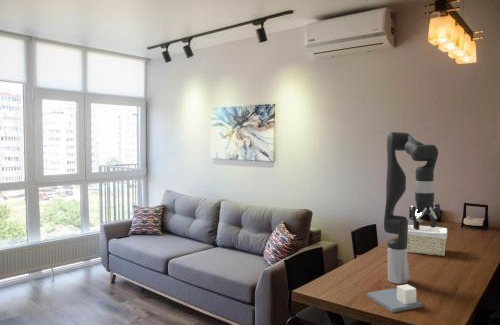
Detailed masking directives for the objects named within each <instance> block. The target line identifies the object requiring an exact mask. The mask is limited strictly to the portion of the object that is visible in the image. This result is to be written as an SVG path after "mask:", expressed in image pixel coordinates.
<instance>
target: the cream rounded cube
mask: <svg viewBox="0 0 500 325" xmlns="http://www.w3.org/2000/svg"><path fill="white" fill-rule="evenodd" d="M396 289H397V300H399V301H401V302H402V303H404V304H410V303H416V300H417V288H416V287H414V286H412V285H410V284H408V283H405V284H399V285H396Z"/></svg>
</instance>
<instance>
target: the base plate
mask: <svg viewBox="0 0 500 325" xmlns="http://www.w3.org/2000/svg"><path fill="white" fill-rule="evenodd" d="M366 297H367V298H369V299H371V300H372V301H374V302H375V303H376V304H378V305H380V306H381V307H383V308H385V309H386V310H388V311H389V312H390V313H398V312H403V311H407V310H412V309H417V308H422V305H423V303H422V302H420V301H418V300H417V299H416V303H410V304H404V303H402V302H401V301H399V300H397V288H394V287H393V288H388V289H387V288H386V289H382V290H378V291H377V290H376V291H371V292H366Z"/></svg>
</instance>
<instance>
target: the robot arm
mask: <svg viewBox="0 0 500 325" xmlns="http://www.w3.org/2000/svg"><path fill="white" fill-rule="evenodd" d="M396 151H400V152H406V153H407V154H408V155H409V156H411V159H412V160H413V161H414V162H426V163H425V164H424V165H422V166H418V167H416V169H415V183H414V197H415V198H414V200H415V205H409V211H408V212H409V213H408V215H409V216H408V218H409V220H411V221H413V225H414V229H416V230H419V226H420V219H421V218H422V217H423V216H425V215H426V216H427V215H428V216H429V217H430V220H429V222H430V225H429V226H430V227H432V228H435V227H437V219H438V218H441V206H440V205H441V204H440V203H436V202H435V183H434V182H435V180H434V178H435V176H434V171H435V167H436V164H437V160H438V157H439V150H438V147H437V146H436V145H435V144H424V143H422V142H420V141H418V140H416V139H415V138H414V137H413V136H412V135H411V134H409V133H408V132H398V131H396V132H395V131H394V132H393V131H390V132H389V133H388V134H387V138H386V155H387V156H386V158H387V160H386V161H387V163H386V164H387V165H386V183H385V184H386V185H385V188H386V192H385V209H384V217H383V229H384V232H385V233H387V234H392V235H394V234H395V235H398V236H397V237H396V238H393V239H390V240H388V241H387V246H386V247H387V281H388V282H390V283H393V284H396V285H397V284H398V285H405V284H408V282H410V263H409V262H408V252H407V239H408V225H409V221H408V218H407V217H406V216H403V215H394V213H395V212H394V211H395V208H396V205H397V204H398V202H399V201H400V200H401V198H402V197H403V195H404V194H405V193H406V192H405V191H406V190H407V188H406V187H407V186H406V185H407V176H406V174H405V172H404V170H403V169H402V167H401V165H400V164H399V161H398V159H397V156H396V155H397V153H396Z"/></svg>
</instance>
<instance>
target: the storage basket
mask: <svg viewBox="0 0 500 325" xmlns="http://www.w3.org/2000/svg"><path fill="white" fill-rule="evenodd" d="M447 239H448V228H447V227H441V226H440V227H439V226H435V228H432V227H431V226H430V225H428V226H427V225H419V230H416V229H414V224H408V239H407V253H412V254H424V255H429V256H432V255H433V256H444V257H445V254H446V253H445V252H446V242H447Z"/></svg>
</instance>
